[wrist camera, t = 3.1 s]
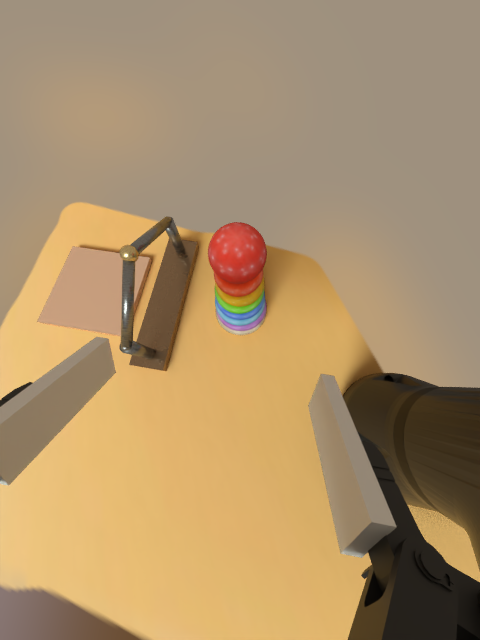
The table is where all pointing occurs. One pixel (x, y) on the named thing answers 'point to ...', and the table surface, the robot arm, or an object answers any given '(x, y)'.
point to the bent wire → (156, 297)
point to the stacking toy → (238, 277)
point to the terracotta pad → (92, 291)
